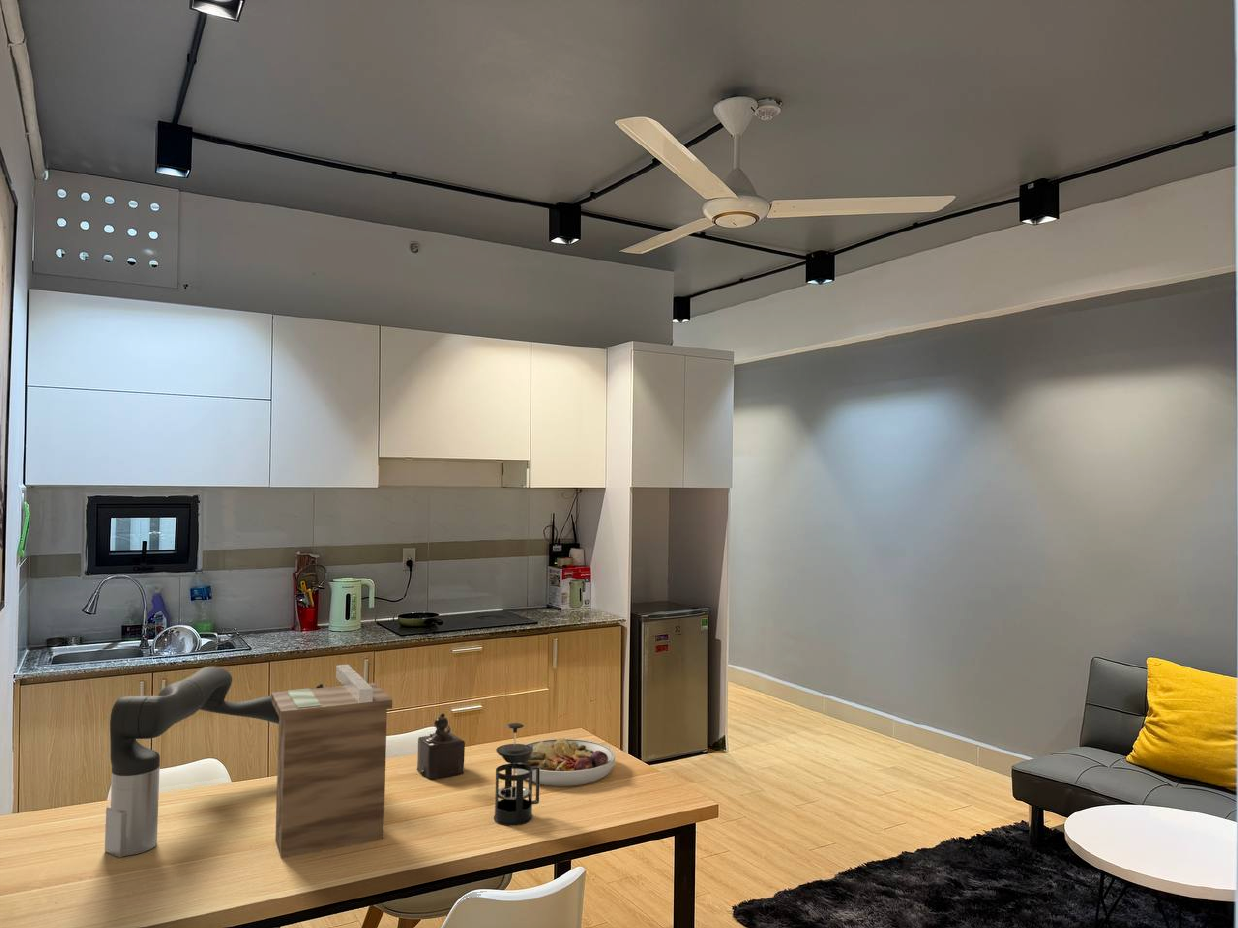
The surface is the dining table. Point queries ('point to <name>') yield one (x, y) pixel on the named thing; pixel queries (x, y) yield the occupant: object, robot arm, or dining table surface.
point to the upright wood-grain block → (329, 769)
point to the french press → (514, 802)
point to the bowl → (569, 761)
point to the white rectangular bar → (354, 683)
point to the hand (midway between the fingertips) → (338, 685)
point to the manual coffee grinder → (440, 752)
